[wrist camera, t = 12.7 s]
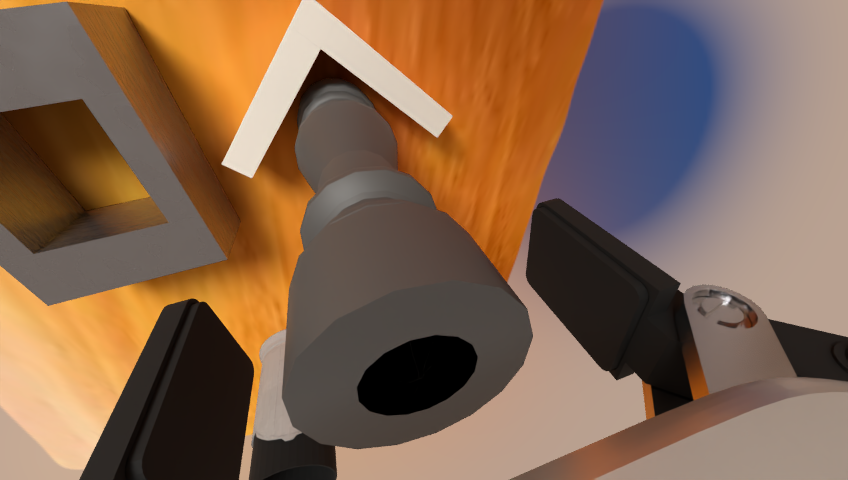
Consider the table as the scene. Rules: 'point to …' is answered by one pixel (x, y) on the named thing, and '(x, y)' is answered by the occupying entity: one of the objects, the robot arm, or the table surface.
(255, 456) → the glass holder
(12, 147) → the gray hollow block
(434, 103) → the angle bracket
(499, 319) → the candle holder
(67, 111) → the table surface
